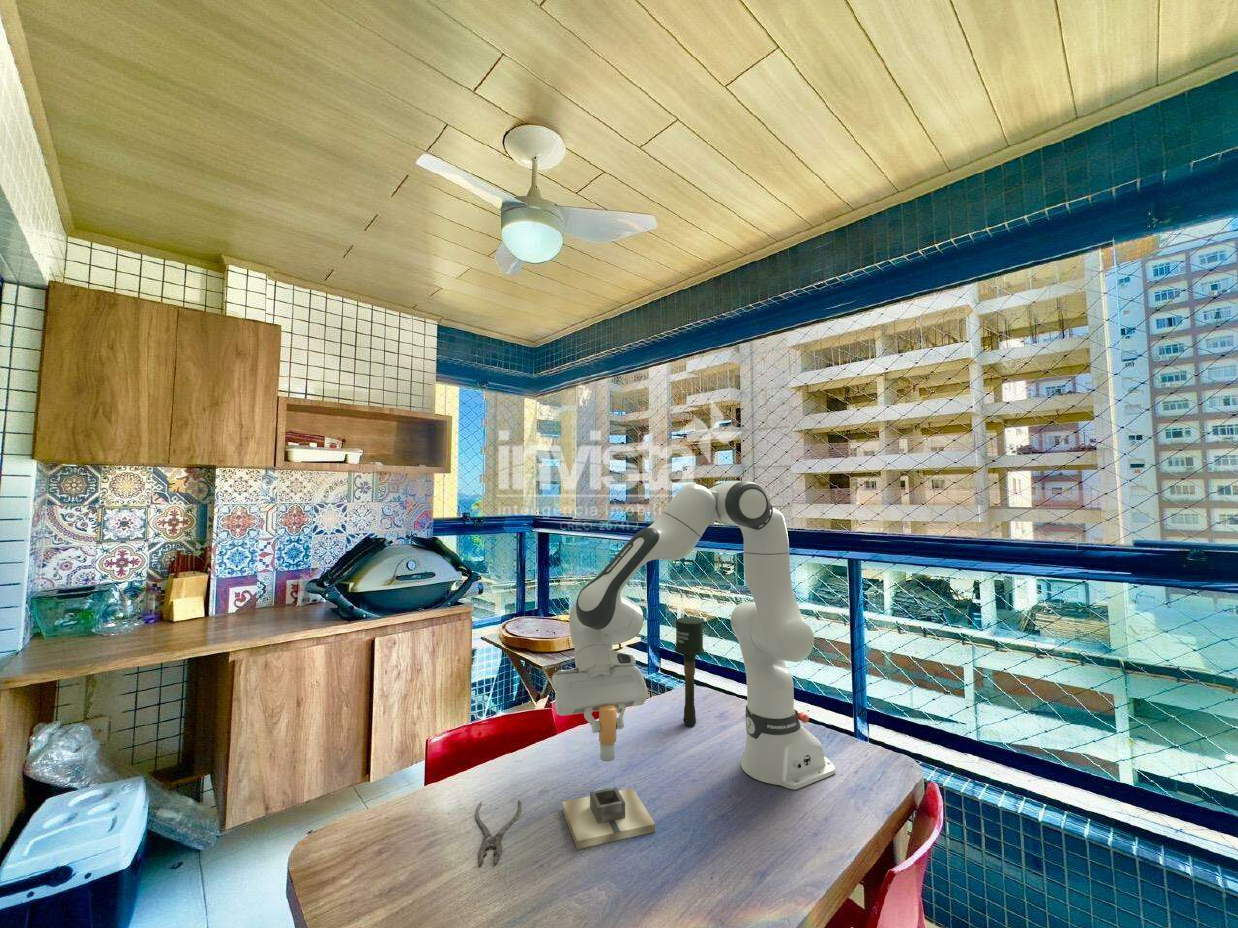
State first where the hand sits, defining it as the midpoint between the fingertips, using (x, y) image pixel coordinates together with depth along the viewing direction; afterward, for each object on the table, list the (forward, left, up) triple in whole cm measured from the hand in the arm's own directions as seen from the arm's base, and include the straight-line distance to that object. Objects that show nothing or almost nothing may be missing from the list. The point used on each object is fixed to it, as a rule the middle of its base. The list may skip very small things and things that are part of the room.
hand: (608, 729), depth 105 cm
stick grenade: (-36, -35, -18) cm, 53 cm away
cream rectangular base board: (0, -1, -18) cm, 18 cm away
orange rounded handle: (0, -1, -6) cm, 6 cm away
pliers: (+21, -5, -19) cm, 28 cm away
